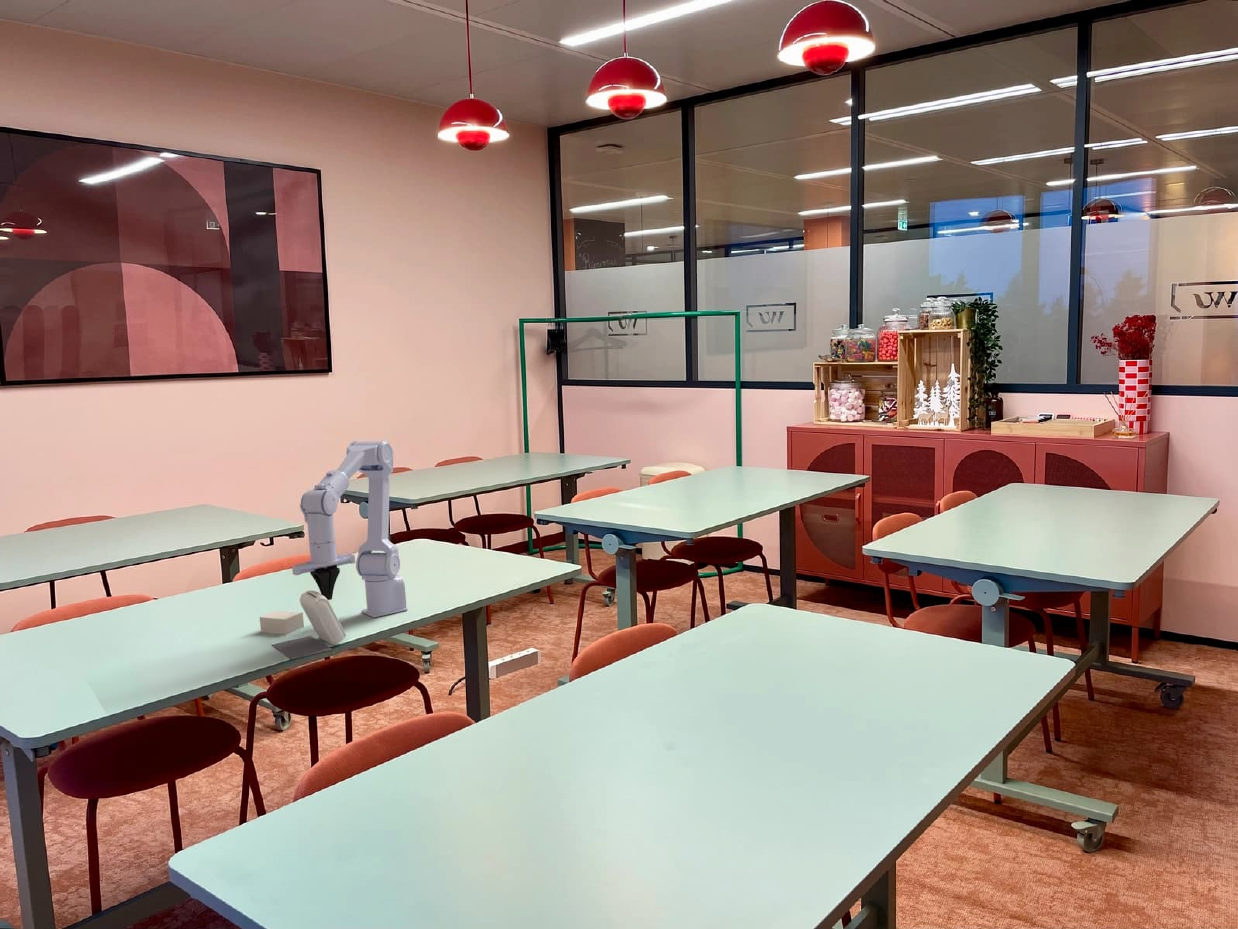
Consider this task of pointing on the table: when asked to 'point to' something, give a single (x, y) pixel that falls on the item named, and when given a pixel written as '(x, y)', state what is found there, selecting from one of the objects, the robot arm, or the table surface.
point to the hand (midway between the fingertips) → (327, 599)
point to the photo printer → (322, 617)
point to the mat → (301, 647)
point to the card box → (281, 622)
